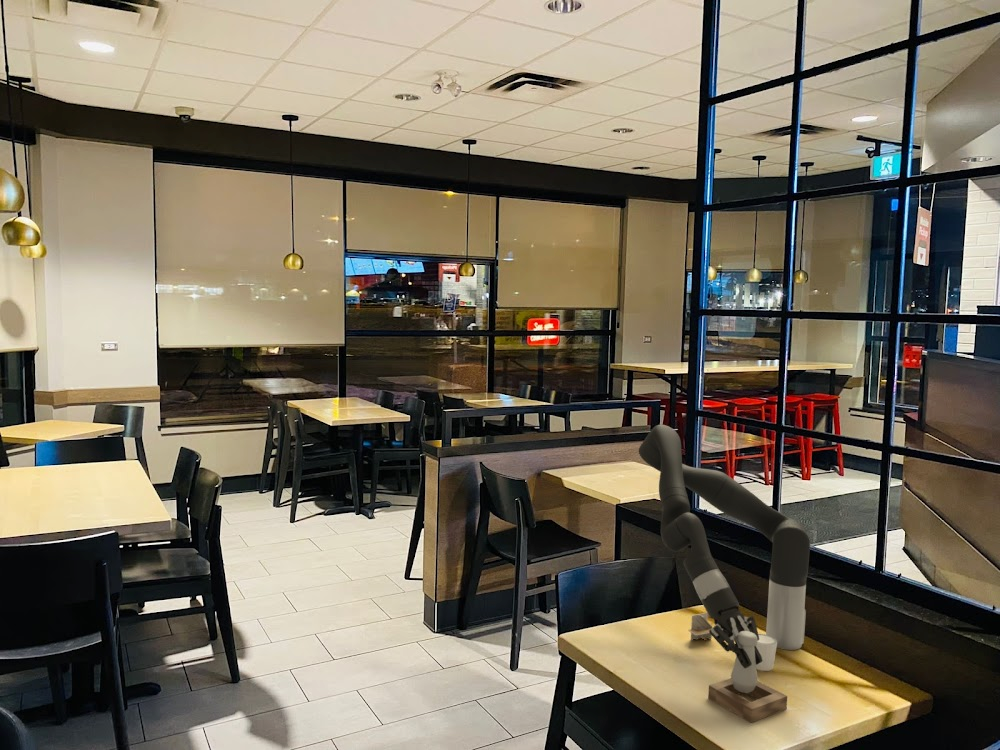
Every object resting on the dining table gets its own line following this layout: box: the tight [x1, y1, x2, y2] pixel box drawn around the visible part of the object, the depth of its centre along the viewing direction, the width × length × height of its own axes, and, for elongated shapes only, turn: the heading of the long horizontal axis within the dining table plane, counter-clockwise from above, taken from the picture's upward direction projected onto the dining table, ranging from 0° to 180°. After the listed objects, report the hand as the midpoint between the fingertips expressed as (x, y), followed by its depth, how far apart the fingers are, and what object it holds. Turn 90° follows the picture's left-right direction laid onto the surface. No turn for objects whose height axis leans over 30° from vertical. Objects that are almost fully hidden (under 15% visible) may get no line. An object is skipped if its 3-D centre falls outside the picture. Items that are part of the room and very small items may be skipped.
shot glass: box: [756, 633, 778, 672], centre depth 188 cm, size 7×7×7 cm
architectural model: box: [688, 612, 713, 641], centre depth 201 cm, size 3×7×7 cm, turn 116°
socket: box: [707, 677, 788, 723], centre depth 169 cm, size 12×12×3 cm
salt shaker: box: [730, 631, 759, 694], centre depth 168 cm, size 6×6×13 cm
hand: (753, 664), depth 167 cm, fingers closed on salt shaker, 3 cm apart
